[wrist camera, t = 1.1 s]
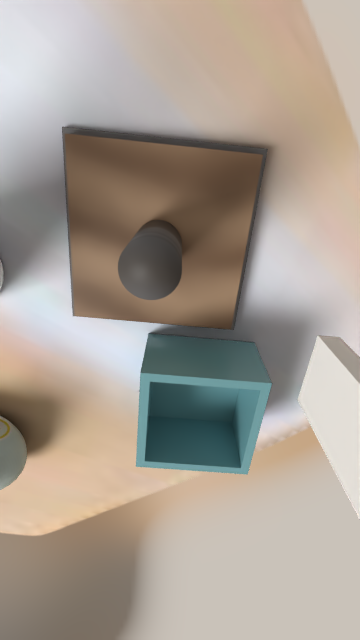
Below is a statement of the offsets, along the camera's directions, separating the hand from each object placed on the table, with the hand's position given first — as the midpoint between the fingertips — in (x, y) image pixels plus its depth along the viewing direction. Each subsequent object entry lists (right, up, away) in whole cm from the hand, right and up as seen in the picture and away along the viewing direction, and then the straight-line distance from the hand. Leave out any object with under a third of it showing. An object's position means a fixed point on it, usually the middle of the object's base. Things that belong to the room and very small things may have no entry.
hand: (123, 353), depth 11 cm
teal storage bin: (+4, -6, +24) cm, 25 cm away
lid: (0, +8, +17) cm, 19 cm away
